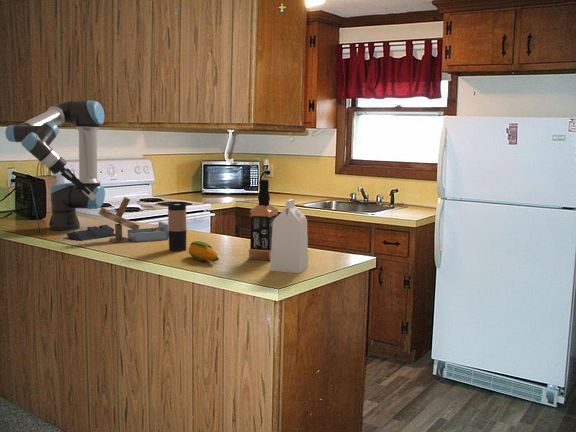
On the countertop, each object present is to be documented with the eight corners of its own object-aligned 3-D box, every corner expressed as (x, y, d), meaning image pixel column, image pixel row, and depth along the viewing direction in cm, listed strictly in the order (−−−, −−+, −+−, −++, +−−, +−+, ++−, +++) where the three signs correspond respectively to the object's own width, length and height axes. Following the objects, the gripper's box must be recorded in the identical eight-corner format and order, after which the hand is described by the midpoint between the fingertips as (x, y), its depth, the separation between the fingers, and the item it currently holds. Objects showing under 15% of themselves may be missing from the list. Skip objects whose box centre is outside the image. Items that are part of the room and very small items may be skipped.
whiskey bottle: (271, 261, 245) (272, 180, 240) (248, 259, 248) (248, 180, 243) (278, 255, 255) (279, 178, 250) (256, 254, 258) (256, 178, 253)
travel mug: (166, 248, 267) (166, 203, 264) (184, 247, 270) (183, 202, 267) (170, 252, 260) (170, 205, 257) (188, 250, 263) (188, 204, 260)
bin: (134, 242, 281) (133, 227, 280) (127, 237, 292) (127, 223, 291) (168, 239, 289) (168, 224, 288) (160, 235, 299) (160, 221, 298)
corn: (200, 236, 254) (224, 244, 238) (201, 254, 256) (226, 263, 240) (183, 239, 250) (207, 248, 234) (185, 258, 251) (209, 267, 235)
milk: (279, 263, 241) (280, 197, 237) (308, 266, 237) (309, 199, 234) (269, 270, 229) (270, 201, 225) (299, 273, 226) (300, 202, 222)
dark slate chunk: (62, 238, 292) (61, 228, 291) (102, 232, 308) (102, 223, 308) (79, 242, 282) (79, 232, 281) (120, 236, 299) (120, 226, 298)
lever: (101, 215, 275) (113, 191, 276) (97, 213, 283) (109, 189, 284) (137, 231, 284) (148, 208, 285) (132, 228, 292) (143, 205, 293)
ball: (157, 228, 294) (158, 235, 295) (152, 229, 292) (153, 237, 292) (163, 228, 293) (163, 236, 293) (158, 230, 290) (158, 237, 290)
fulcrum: (113, 242, 279) (112, 226, 278) (109, 240, 285) (109, 224, 284) (128, 241, 283) (128, 225, 282) (124, 239, 289) (124, 223, 288)
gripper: (45, 167, 275) (85, 202, 285) (50, 169, 263) (91, 206, 274) (57, 155, 276) (97, 190, 287) (62, 156, 265) (103, 193, 276)
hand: (94, 198), depth 280 cm, fingers closed
